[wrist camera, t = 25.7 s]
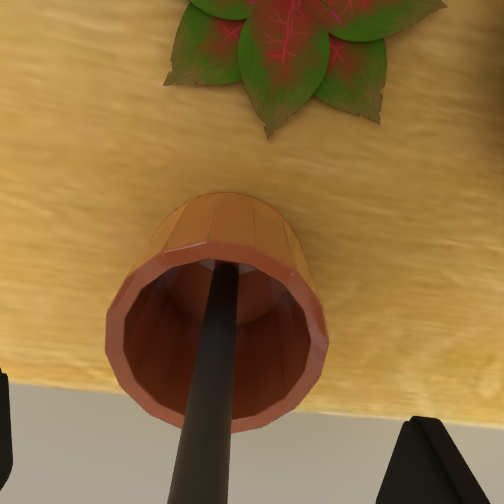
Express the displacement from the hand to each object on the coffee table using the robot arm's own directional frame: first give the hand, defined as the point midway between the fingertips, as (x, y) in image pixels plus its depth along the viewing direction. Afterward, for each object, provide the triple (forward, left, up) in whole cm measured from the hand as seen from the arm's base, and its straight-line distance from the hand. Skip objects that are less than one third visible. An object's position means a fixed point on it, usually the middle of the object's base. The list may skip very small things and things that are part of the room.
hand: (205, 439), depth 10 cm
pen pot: (0, 0, -11) cm, 11 cm away
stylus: (0, 0, -10) cm, 10 cm away
